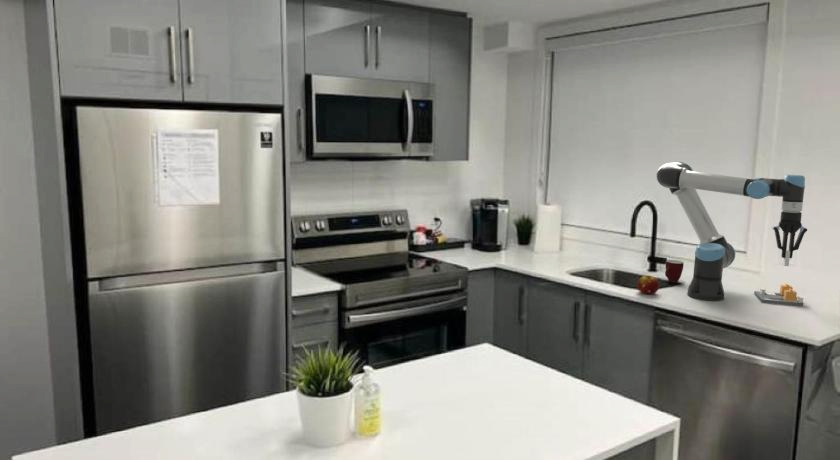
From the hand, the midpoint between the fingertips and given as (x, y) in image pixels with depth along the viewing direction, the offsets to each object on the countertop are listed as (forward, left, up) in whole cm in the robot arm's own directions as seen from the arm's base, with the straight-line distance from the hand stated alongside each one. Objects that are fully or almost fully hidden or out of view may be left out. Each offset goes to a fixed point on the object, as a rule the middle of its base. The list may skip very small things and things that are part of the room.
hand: (785, 265), depth 261 cm
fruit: (-55, -4, -17) cm, 58 cm away
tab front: (+3, -1, -15) cm, 15 cm away
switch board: (0, +4, -17) cm, 17 cm away
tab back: (+4, +8, -15) cm, 18 cm away
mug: (-42, +22, -17) cm, 51 cm away
